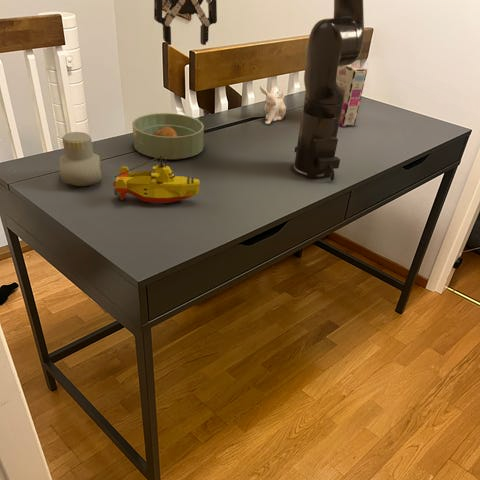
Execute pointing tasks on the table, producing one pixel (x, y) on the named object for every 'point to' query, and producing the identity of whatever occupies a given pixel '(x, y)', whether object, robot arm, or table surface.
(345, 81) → the candy bar box
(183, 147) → the bowl
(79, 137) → the air freshener
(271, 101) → the rabbit figurine
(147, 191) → the toy boat
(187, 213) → the table surface
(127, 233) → the table surface
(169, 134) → the croissant
